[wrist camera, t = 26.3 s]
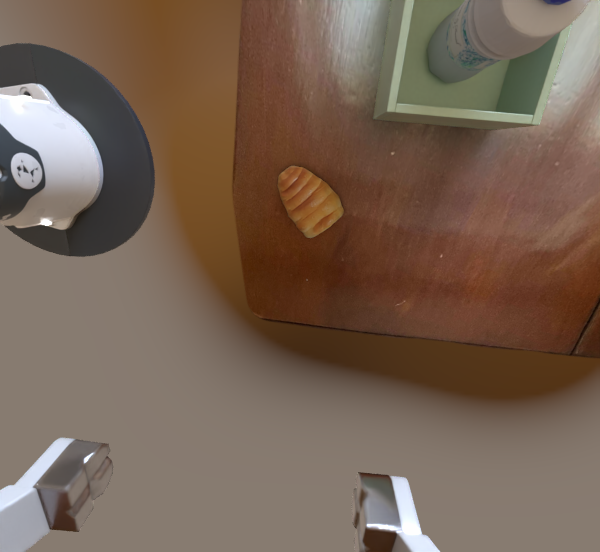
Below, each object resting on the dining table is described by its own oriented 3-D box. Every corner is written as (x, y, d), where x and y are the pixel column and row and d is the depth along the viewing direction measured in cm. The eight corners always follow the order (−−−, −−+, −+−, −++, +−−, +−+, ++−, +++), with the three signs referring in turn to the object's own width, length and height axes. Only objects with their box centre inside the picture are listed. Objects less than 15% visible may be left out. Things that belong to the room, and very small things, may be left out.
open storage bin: (372, 119, 40) (386, 111, 31) (395, -33, 34) (419, -92, 26) (493, 130, 39) (539, 125, 31) (535, -23, 34) (606, -79, 25)
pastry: (266, 186, 43) (261, 189, 40) (305, 152, 41) (303, 152, 38) (310, 239, 46) (309, 247, 42) (348, 209, 44) (351, 214, 40)
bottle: (431, 11, 35) (559, -148, 16) (493, 21, 35) (692, -126, 16) (413, 83, 37) (505, 16, 18) (471, 92, 37) (621, 36, 18)
